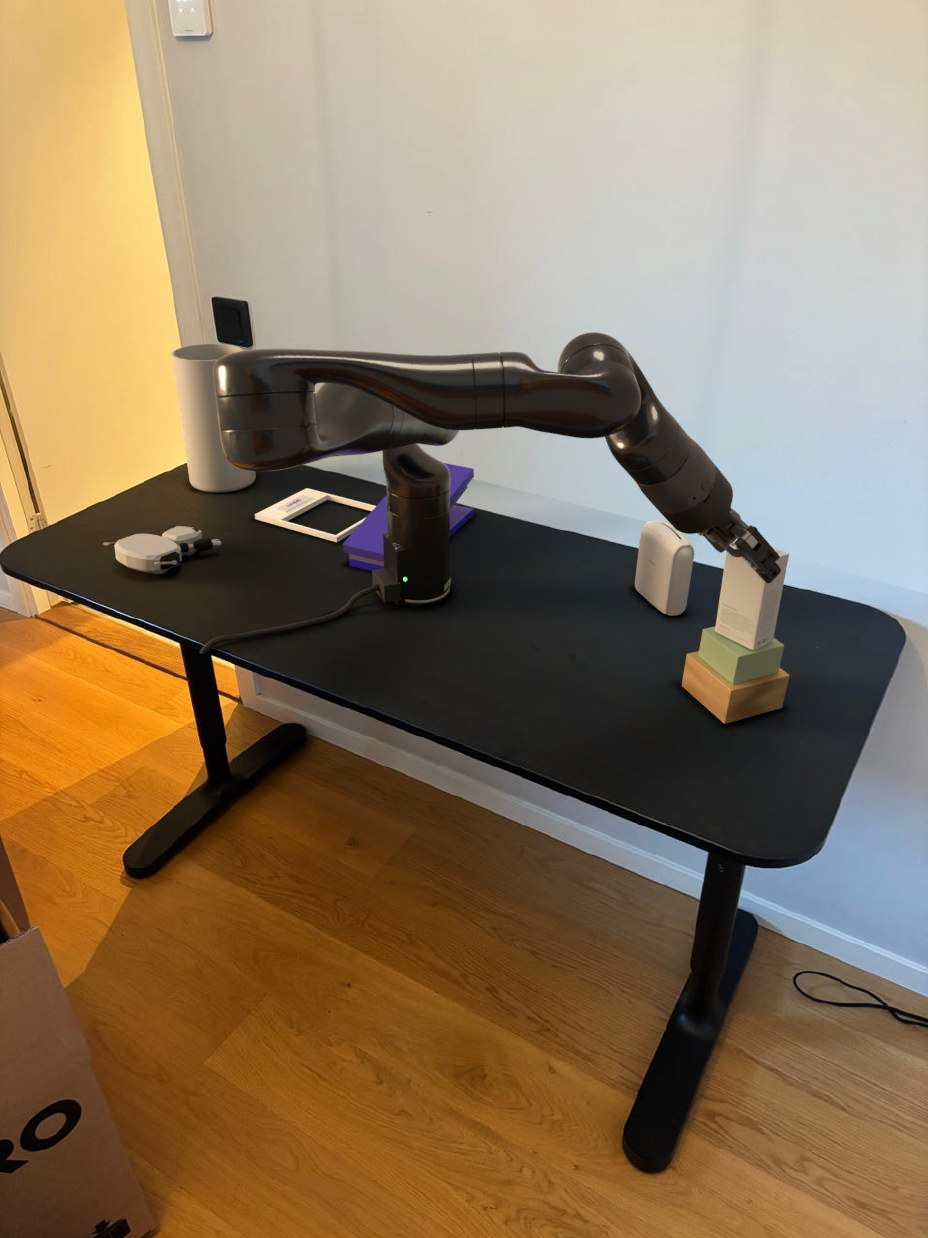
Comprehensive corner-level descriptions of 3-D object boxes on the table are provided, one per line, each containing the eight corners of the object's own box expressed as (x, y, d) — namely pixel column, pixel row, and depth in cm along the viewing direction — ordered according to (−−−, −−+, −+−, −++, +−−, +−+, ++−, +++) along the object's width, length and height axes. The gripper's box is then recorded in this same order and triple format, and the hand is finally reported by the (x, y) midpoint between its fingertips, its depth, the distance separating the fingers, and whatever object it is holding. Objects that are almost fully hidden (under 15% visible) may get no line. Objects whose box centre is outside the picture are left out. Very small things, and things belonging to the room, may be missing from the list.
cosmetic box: (774, 641, 111) (794, 552, 105) (752, 653, 109) (771, 562, 103) (732, 621, 115) (749, 534, 109) (710, 632, 113) (726, 544, 107)
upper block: (732, 684, 110) (738, 656, 108) (697, 655, 116) (702, 628, 114) (778, 672, 113) (784, 645, 111) (742, 645, 118) (747, 618, 116)
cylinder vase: (224, 499, 169) (208, 364, 157) (176, 485, 175) (156, 353, 162) (269, 478, 179) (257, 349, 166) (222, 465, 184) (207, 340, 171)
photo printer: (629, 587, 142) (639, 514, 136) (653, 583, 143) (664, 511, 137) (664, 619, 134) (675, 543, 127) (689, 614, 135) (701, 538, 129)
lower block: (724, 724, 111) (731, 690, 109) (681, 685, 119) (686, 653, 116) (782, 708, 115) (790, 675, 112) (736, 671, 122) (743, 639, 119)
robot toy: (176, 540, 155) (102, 566, 144) (174, 515, 153) (98, 540, 142) (227, 558, 150) (154, 587, 138) (226, 533, 148) (152, 560, 136)
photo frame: (306, 487, 172) (385, 507, 164) (307, 492, 172) (385, 513, 165) (254, 513, 161) (336, 536, 153) (255, 519, 161) (336, 542, 154)
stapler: (476, 515, 165) (478, 464, 160) (406, 580, 142) (405, 523, 138) (419, 504, 169) (419, 454, 164) (342, 566, 146) (339, 509, 141)
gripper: (621, 485, 102) (690, 559, 112) (698, 535, 91) (767, 612, 101) (666, 434, 102) (732, 513, 112) (750, 478, 90) (814, 562, 100)
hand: (749, 560), depth 106 cm, fingers open, 8 cm apart
